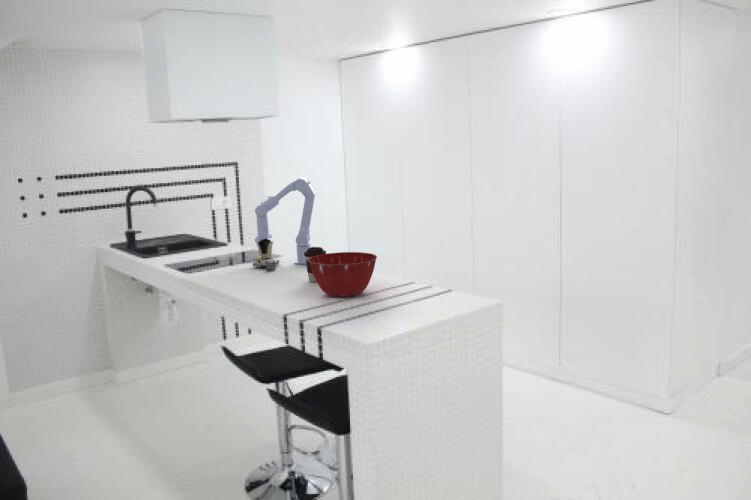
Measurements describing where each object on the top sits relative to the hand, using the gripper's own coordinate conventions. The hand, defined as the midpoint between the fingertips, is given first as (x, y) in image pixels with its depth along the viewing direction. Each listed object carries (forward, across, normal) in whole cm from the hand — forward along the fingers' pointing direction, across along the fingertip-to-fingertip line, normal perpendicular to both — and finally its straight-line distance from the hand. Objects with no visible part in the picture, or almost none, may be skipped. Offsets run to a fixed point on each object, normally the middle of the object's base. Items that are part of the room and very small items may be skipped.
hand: (264, 253), depth 349 cm
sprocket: (+4, +6, +4) cm, 8 cm away
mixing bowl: (+6, +53, +66) cm, 85 cm away
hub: (+6, +6, +4) cm, 9 cm away
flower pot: (+6, -16, -8) cm, 19 cm away
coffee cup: (+6, +32, +44) cm, 54 cm away
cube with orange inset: (+6, +14, +11) cm, 18 cm away
